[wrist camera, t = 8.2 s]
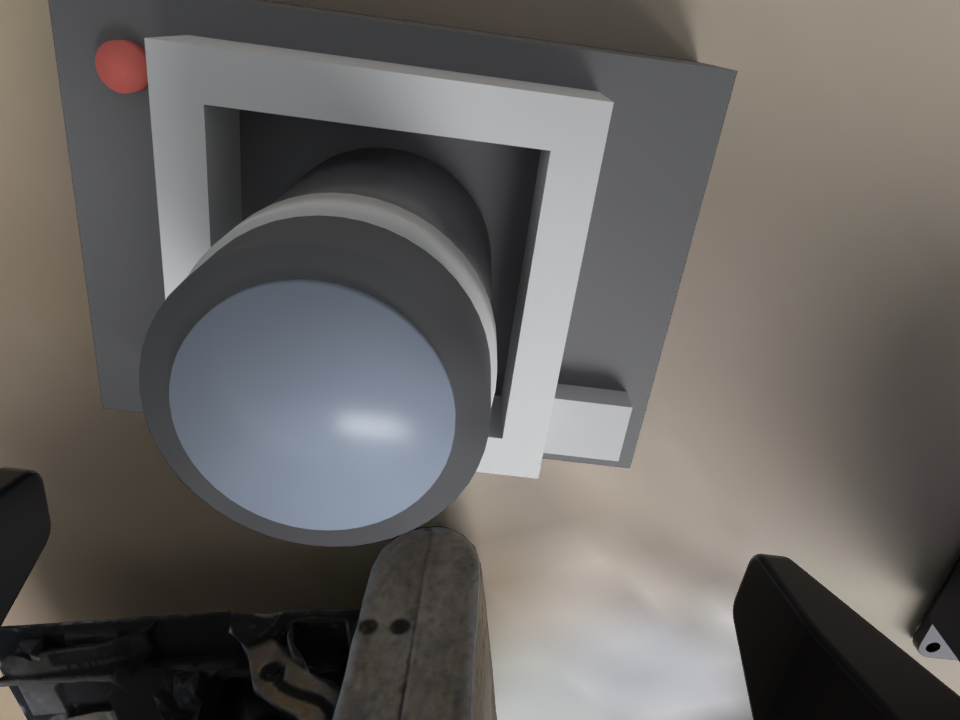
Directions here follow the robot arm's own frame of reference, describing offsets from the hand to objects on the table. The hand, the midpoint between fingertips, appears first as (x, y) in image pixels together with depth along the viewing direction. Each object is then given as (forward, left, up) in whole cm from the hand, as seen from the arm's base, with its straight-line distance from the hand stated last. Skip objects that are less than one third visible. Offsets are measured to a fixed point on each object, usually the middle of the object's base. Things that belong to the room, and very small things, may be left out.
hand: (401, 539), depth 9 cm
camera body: (+2, -1, -12) cm, 12 cm away
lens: (+1, -1, -9) cm, 9 cm away
